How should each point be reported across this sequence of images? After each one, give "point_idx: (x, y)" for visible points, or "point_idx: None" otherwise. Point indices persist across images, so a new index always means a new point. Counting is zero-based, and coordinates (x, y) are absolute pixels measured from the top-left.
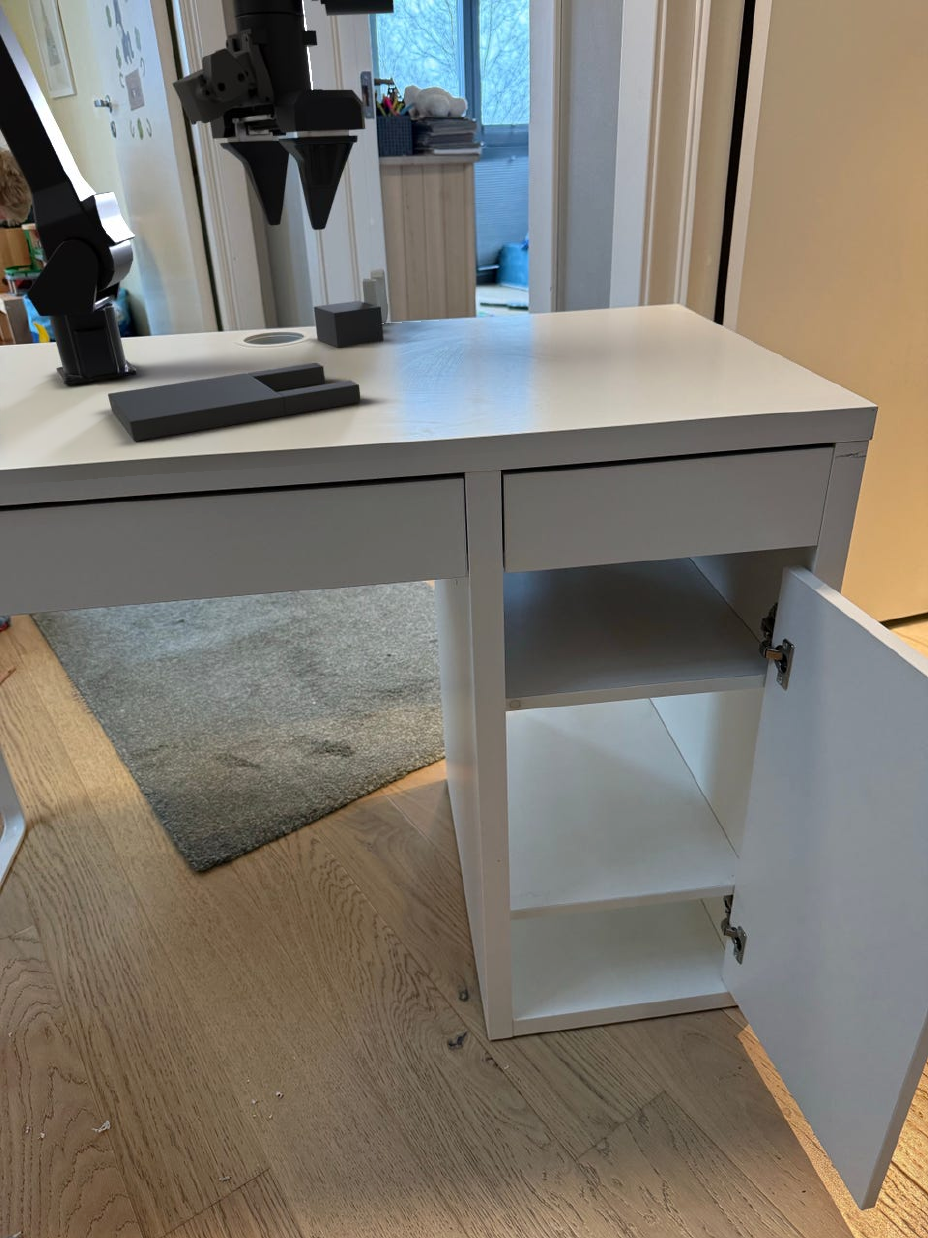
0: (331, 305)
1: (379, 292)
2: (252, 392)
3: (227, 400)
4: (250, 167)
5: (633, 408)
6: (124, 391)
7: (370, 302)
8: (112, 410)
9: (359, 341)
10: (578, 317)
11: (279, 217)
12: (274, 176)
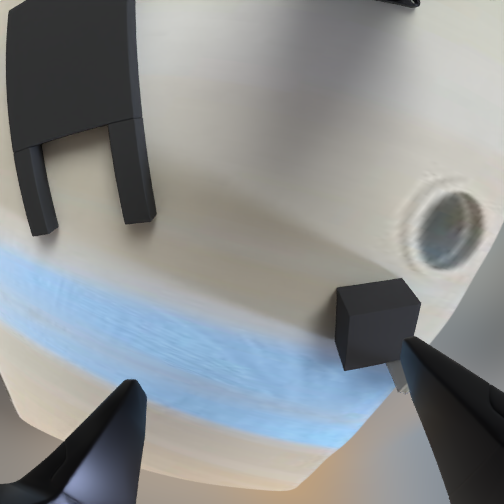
0: (407, 324)
1: None
2: (37, 120)
3: (21, 93)
4: (497, 437)
5: (15, 367)
6: None
7: (395, 366)
8: None
9: (336, 317)
10: (298, 463)
11: (404, 371)
12: (451, 454)
